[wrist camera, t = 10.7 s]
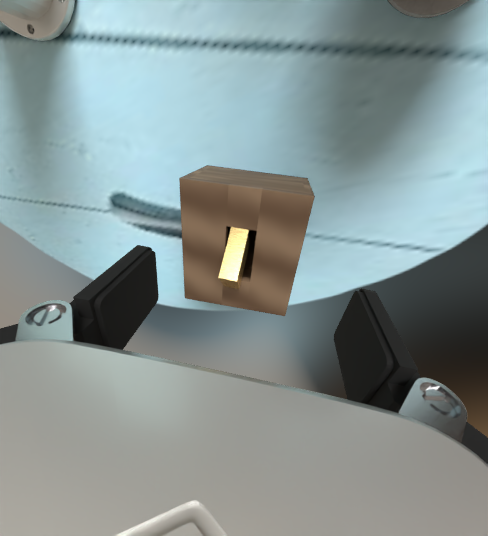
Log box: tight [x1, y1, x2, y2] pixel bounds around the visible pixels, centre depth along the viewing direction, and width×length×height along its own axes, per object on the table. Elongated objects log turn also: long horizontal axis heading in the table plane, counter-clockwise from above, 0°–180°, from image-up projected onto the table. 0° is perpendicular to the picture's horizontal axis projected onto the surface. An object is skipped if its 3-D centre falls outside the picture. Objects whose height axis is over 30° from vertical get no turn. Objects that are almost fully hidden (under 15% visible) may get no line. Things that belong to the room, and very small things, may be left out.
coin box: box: [179, 166, 315, 316], centre depth 33 cm, size 16×14×10 cm
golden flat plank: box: [218, 227, 249, 289], centre depth 28 cm, size 5×2×6 cm
